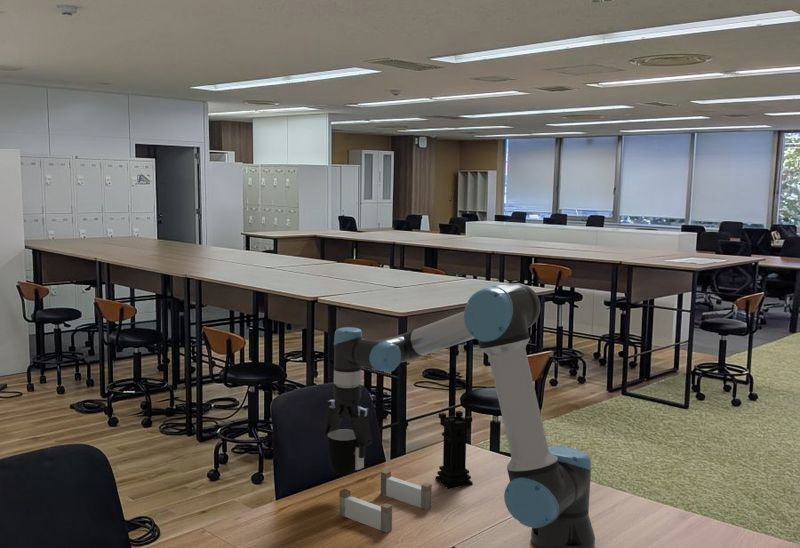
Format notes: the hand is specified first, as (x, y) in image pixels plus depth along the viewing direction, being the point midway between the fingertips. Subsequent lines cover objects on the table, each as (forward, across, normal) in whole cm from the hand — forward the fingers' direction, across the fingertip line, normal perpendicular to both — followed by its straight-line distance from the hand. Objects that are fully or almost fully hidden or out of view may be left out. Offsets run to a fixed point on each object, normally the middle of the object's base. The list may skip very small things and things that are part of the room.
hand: (346, 464), depth 198 cm
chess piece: (+10, -17, -28) cm, 34 cm away
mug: (+2, +1, 0) cm, 2 cm away
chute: (+9, -14, 0) cm, 17 cm away
